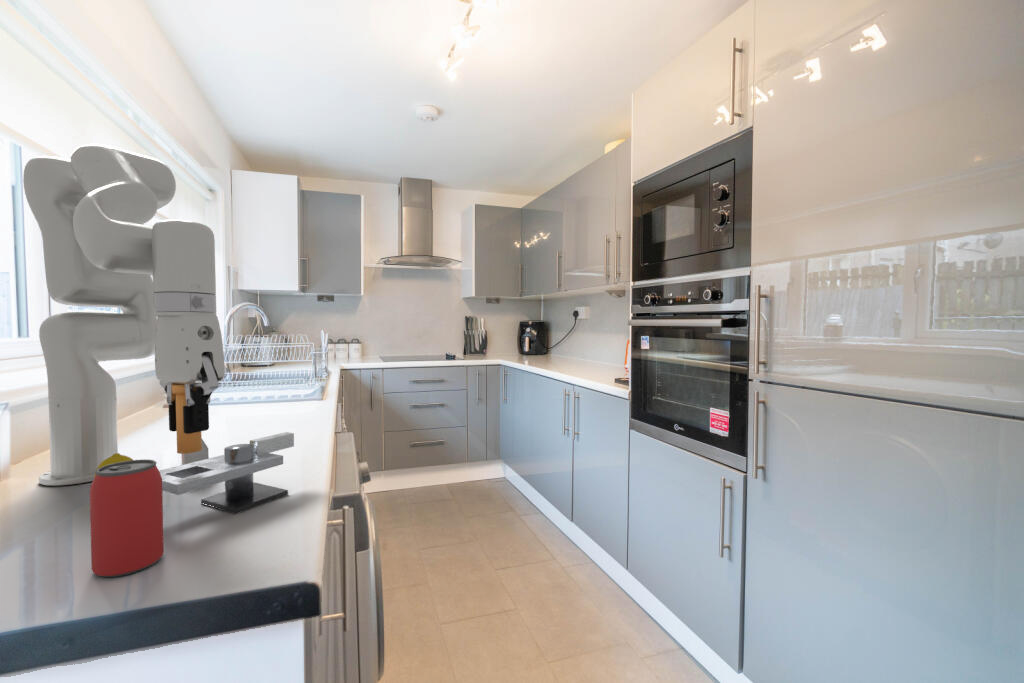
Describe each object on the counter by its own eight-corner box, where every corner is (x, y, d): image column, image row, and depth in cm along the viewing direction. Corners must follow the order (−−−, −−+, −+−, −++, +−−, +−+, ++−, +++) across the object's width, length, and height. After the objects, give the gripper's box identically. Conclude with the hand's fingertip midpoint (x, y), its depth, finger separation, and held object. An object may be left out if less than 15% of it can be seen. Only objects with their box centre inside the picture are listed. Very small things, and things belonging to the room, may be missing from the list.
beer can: (121, 552, 57) (118, 458, 57) (176, 550, 58) (174, 457, 58) (75, 581, 51) (72, 475, 50) (138, 578, 51) (135, 473, 51)
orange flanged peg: (195, 446, 70) (194, 382, 70) (210, 449, 68) (208, 383, 68) (168, 452, 67) (166, 384, 66) (182, 455, 65) (180, 385, 65)
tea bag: (204, 471, 91) (203, 421, 91) (208, 479, 86) (207, 426, 85) (181, 474, 88) (180, 423, 88) (185, 483, 83) (183, 429, 83)
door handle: (142, 522, 66) (140, 458, 66) (273, 479, 85) (272, 430, 85) (179, 535, 62) (177, 467, 62) (309, 487, 81) (308, 435, 81)
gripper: (245, 306, 67) (248, 430, 67) (182, 309, 74) (185, 421, 74) (190, 303, 60) (194, 441, 60) (127, 307, 67) (130, 431, 68)
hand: (189, 429), depth 67 cm, fingers closed on orange flanged peg, 3 cm apart
